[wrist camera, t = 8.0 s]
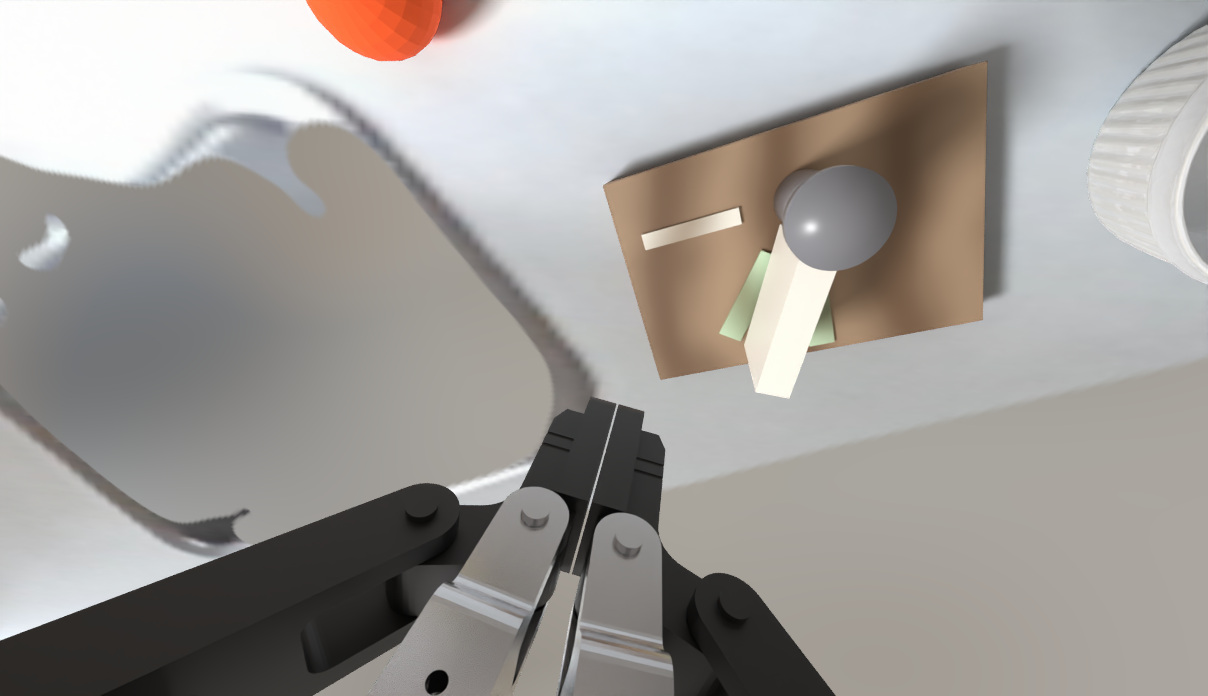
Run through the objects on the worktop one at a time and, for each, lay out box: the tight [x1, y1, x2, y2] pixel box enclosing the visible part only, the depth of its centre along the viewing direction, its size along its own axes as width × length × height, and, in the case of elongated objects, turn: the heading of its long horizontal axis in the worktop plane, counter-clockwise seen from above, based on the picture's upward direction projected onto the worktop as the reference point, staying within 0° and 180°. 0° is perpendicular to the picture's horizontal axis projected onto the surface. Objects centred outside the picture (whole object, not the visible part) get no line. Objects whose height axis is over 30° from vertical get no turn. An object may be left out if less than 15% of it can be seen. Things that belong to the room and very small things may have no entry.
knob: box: [744, 165, 897, 398], centre depth 24 cm, size 12×4×7 cm, turn 173°
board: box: [603, 61, 987, 380], centre depth 28 cm, size 20×14×2 cm
